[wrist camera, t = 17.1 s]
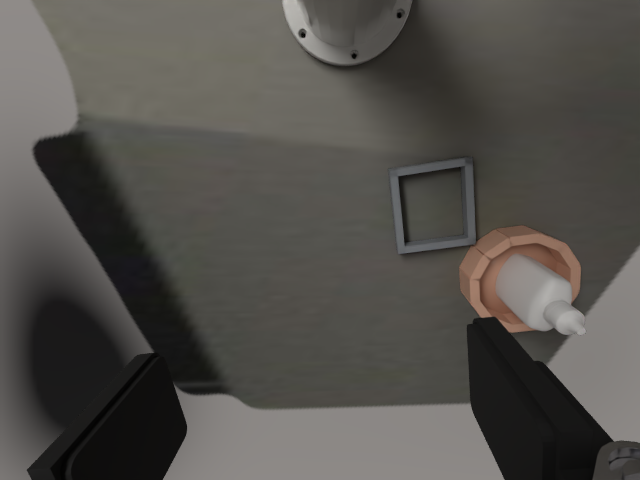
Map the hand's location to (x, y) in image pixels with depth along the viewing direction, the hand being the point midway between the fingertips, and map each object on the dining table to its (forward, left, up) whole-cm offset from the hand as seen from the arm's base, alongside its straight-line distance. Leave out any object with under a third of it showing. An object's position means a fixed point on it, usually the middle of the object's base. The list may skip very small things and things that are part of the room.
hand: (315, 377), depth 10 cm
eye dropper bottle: (+11, +19, -30) cm, 37 cm away
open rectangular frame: (+2, +11, -30) cm, 32 cm away
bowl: (+12, +19, -30) cm, 38 cm away
